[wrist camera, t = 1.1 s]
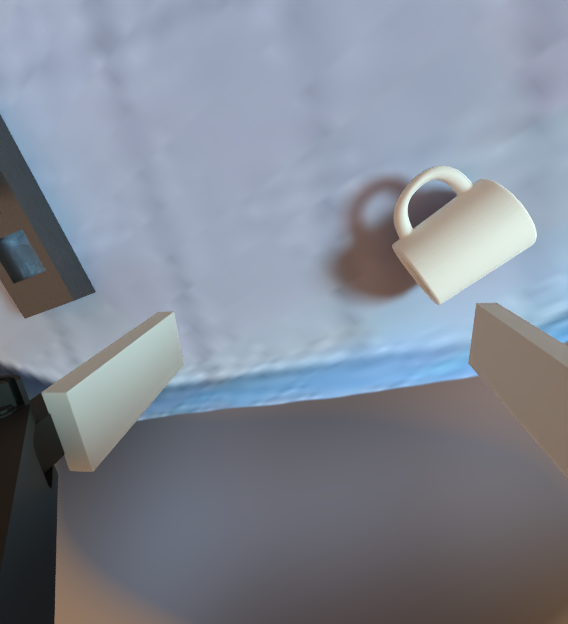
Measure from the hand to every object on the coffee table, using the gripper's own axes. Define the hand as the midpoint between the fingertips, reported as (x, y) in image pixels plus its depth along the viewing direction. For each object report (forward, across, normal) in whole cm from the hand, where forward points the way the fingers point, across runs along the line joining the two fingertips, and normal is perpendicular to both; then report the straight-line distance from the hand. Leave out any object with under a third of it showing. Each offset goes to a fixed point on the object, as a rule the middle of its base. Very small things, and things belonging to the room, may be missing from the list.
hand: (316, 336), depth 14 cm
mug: (+26, +12, +2) cm, 29 cm away
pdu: (+25, -38, +6) cm, 46 cm away
